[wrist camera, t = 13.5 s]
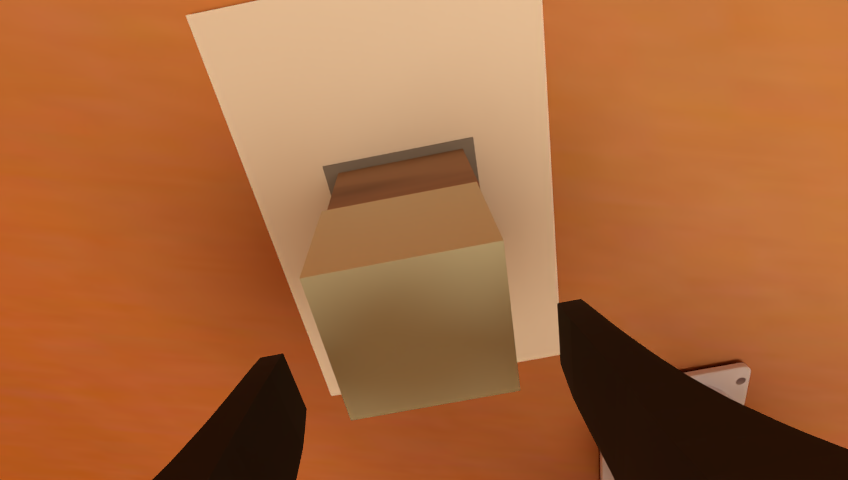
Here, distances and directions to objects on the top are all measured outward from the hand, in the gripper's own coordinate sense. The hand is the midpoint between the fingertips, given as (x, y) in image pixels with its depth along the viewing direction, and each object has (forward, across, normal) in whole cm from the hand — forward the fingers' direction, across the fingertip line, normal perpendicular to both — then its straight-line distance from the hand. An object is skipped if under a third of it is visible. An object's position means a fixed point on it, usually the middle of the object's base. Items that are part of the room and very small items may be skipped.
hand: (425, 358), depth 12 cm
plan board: (+9, 0, 0) cm, 9 cm away
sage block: (+4, 0, 0) cm, 4 cm away
